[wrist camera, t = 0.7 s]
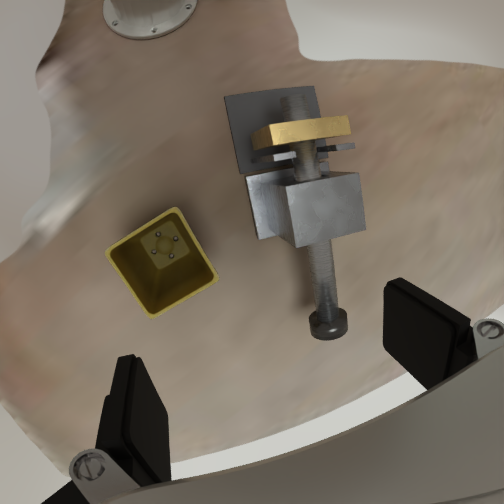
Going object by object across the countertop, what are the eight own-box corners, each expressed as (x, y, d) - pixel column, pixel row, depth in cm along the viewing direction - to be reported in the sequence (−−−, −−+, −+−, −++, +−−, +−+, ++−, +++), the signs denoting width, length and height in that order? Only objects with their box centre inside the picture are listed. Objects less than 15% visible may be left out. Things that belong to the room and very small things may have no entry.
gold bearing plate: (250, 134, 35) (269, 124, 27) (314, 124, 37) (347, 115, 29) (253, 150, 36) (273, 145, 28) (317, 139, 37) (351, 134, 29)
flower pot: (213, 257, 40) (221, 280, 32) (155, 290, 40) (150, 321, 31) (178, 197, 37) (176, 204, 29) (119, 233, 37) (102, 251, 28)
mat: (224, 97, 35) (224, 96, 35) (312, 86, 37) (313, 85, 37) (240, 173, 38) (240, 174, 38) (327, 157, 40) (328, 157, 40)
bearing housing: (244, 177, 38) (268, 179, 28) (324, 161, 40) (369, 161, 30) (257, 238, 41) (283, 261, 30) (333, 219, 42) (378, 235, 32)
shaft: (265, 104, 32) (277, 94, 28) (304, 99, 33) (321, 90, 28) (305, 326, 40) (319, 344, 36) (337, 315, 41) (354, 332, 37)
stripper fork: (249, 158, 38) (273, 155, 28) (314, 147, 39) (354, 142, 30) (250, 163, 38) (274, 161, 28) (315, 151, 40) (355, 148, 30)
